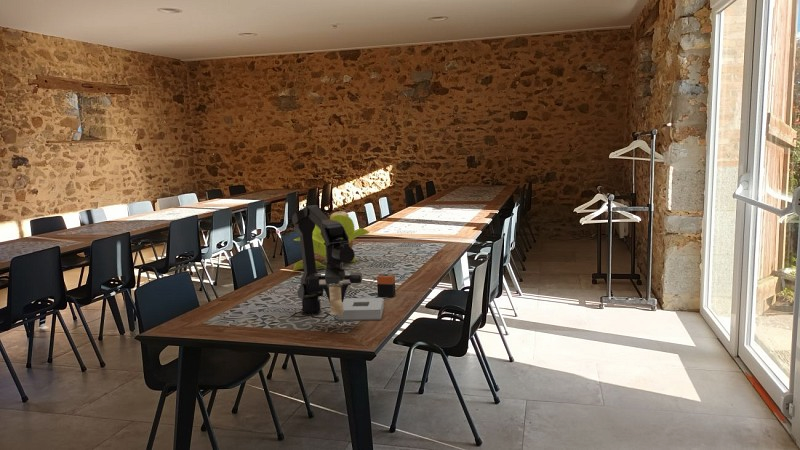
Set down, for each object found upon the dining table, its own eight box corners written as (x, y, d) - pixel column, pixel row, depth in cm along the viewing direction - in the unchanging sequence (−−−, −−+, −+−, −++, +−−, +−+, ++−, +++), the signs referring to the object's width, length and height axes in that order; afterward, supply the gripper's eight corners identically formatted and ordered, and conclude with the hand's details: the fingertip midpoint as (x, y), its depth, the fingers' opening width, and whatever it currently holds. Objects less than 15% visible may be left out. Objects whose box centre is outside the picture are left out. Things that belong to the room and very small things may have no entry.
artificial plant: (379, 274, 331) (369, 225, 344) (367, 243, 292) (356, 188, 305) (302, 292, 331) (295, 242, 344) (280, 263, 292) (273, 207, 305)
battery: (380, 294, 265) (379, 271, 264) (395, 295, 263) (395, 272, 262) (377, 297, 261) (376, 273, 260) (392, 297, 259) (391, 274, 257)
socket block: (337, 320, 229) (337, 310, 229) (343, 308, 245) (342, 299, 244) (380, 320, 228) (380, 309, 228) (383, 307, 244) (383, 298, 244)
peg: (330, 314, 219) (329, 287, 218) (332, 311, 223) (330, 284, 222) (341, 314, 219) (340, 286, 218) (343, 311, 223) (342, 284, 222)
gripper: (303, 264, 211) (306, 308, 213) (358, 262, 210) (360, 307, 212) (309, 257, 222) (312, 300, 224) (361, 256, 221) (363, 299, 223)
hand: (336, 301), depth 221 cm, fingers closed on peg, 4 cm apart
